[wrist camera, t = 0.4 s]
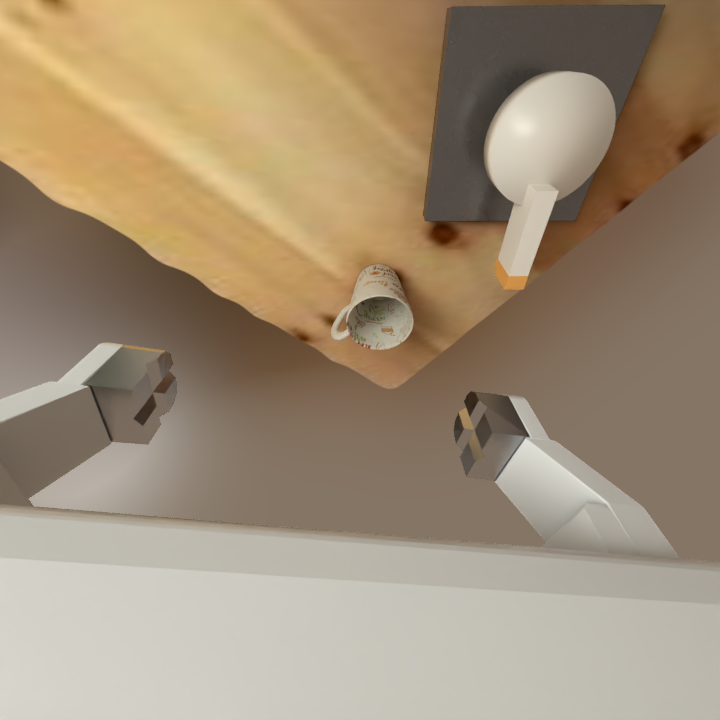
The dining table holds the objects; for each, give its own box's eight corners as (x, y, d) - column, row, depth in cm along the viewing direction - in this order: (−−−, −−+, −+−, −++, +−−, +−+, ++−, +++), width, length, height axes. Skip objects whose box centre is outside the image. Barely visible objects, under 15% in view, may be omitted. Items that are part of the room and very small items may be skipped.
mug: (418, 286, 49) (427, 327, 42) (353, 330, 55) (351, 374, 48) (382, 243, 45) (385, 282, 38) (316, 296, 51) (308, 338, 44)
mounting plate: (447, 8, 30) (460, 2, 26) (651, 6, 30) (698, 0, 26) (423, 214, 43) (429, 233, 38) (567, 214, 42) (590, 233, 38)
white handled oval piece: (499, 70, 29) (519, 74, 25) (619, 69, 28) (657, 73, 25) (458, 267, 41) (467, 289, 37) (542, 267, 41) (560, 289, 37)
